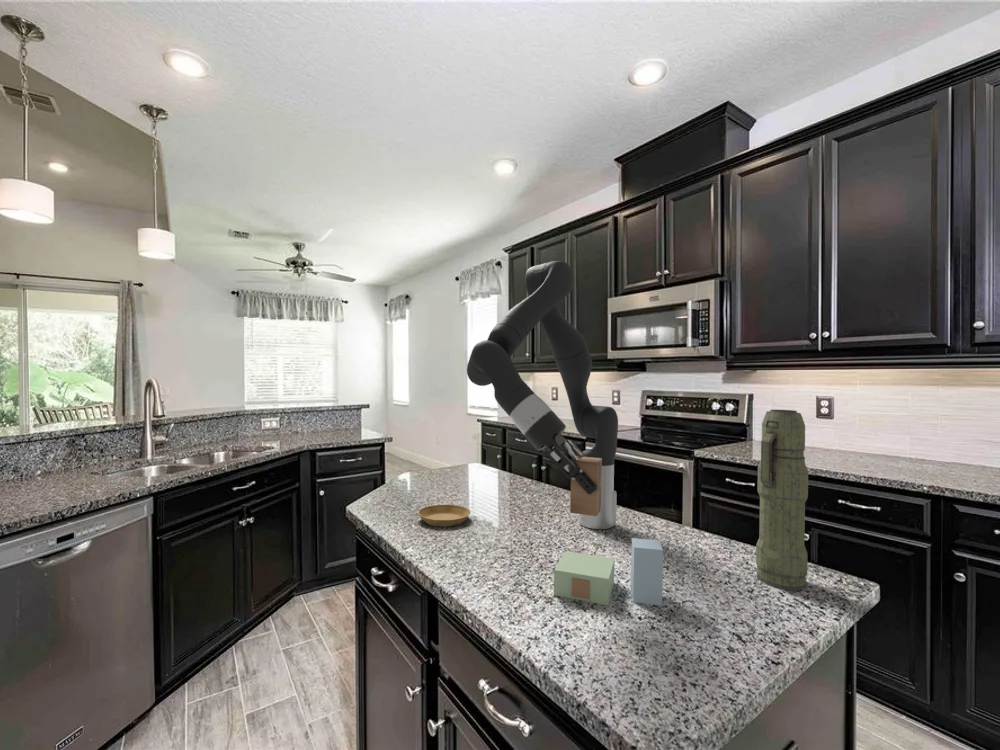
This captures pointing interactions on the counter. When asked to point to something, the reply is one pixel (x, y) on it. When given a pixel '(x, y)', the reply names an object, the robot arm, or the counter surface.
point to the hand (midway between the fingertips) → (595, 487)
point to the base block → (584, 577)
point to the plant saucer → (444, 515)
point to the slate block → (646, 571)
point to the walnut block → (579, 496)
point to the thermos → (782, 501)
